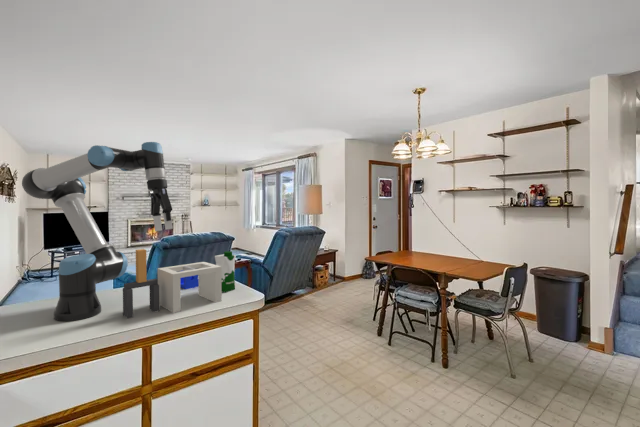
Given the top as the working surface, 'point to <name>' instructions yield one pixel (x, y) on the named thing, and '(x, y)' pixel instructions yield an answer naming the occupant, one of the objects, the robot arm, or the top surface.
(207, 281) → the light grey open-top stand
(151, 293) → the wooden handle u-frame
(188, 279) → the bracket
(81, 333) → the top surface
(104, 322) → the top surface
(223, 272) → the milk carton
